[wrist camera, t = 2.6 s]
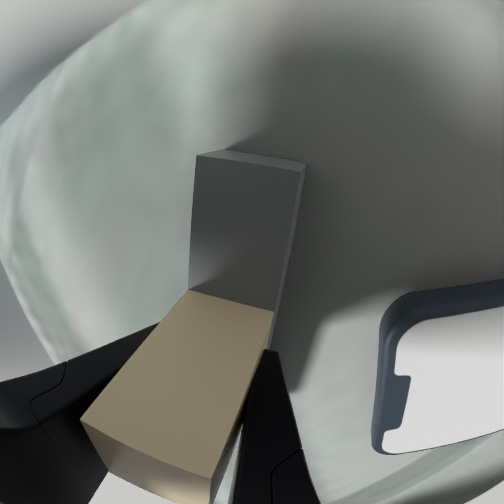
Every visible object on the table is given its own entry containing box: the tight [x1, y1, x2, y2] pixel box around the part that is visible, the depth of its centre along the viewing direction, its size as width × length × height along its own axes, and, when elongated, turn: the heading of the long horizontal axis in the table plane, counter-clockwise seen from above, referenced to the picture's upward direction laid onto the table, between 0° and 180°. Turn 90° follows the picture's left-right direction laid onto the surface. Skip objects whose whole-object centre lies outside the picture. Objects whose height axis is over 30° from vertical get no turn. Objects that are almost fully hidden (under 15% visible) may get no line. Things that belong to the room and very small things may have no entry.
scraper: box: [80, 150, 307, 504], centre depth 8 cm, size 10×2×7 cm, turn 173°
